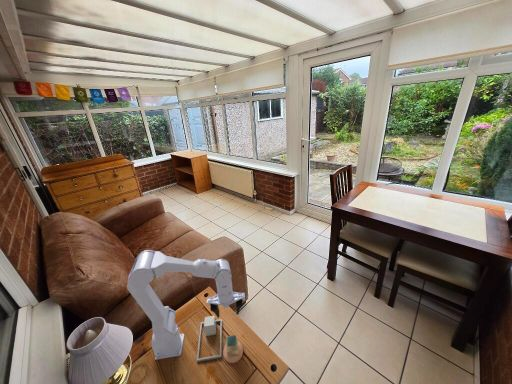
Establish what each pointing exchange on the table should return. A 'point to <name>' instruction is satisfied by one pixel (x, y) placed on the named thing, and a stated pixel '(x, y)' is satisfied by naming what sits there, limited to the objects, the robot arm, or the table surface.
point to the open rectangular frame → (200, 341)
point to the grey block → (210, 325)
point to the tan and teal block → (232, 345)
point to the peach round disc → (234, 358)
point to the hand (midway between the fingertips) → (228, 313)
